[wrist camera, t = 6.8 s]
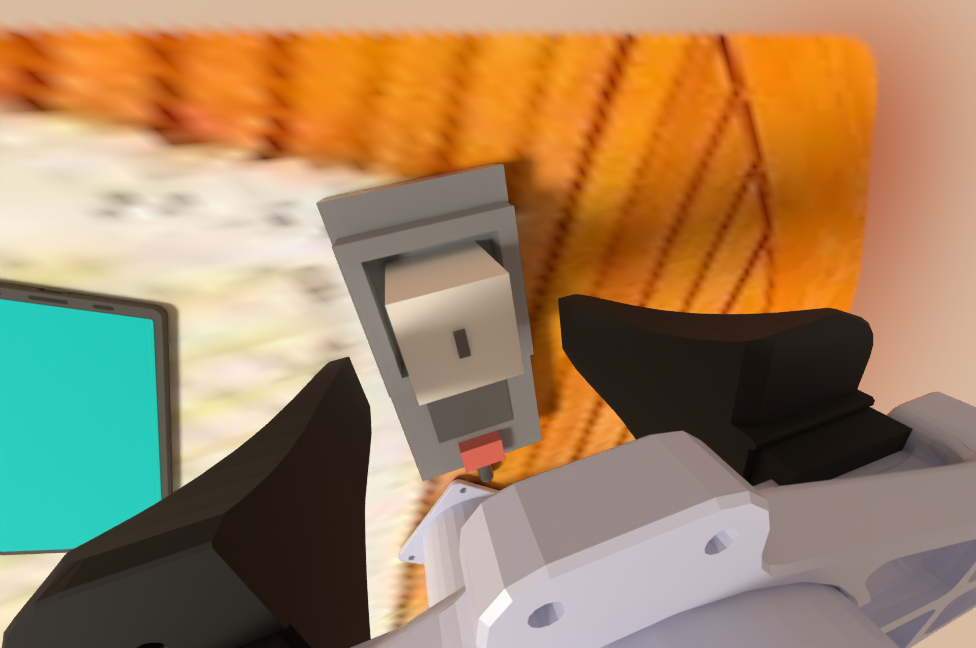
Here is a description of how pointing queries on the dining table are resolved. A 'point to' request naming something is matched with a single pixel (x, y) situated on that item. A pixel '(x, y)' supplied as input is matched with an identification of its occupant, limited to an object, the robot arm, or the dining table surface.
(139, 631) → the robot arm
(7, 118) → the dining table surface
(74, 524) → the smartphone
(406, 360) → the block
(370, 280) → the power strip
